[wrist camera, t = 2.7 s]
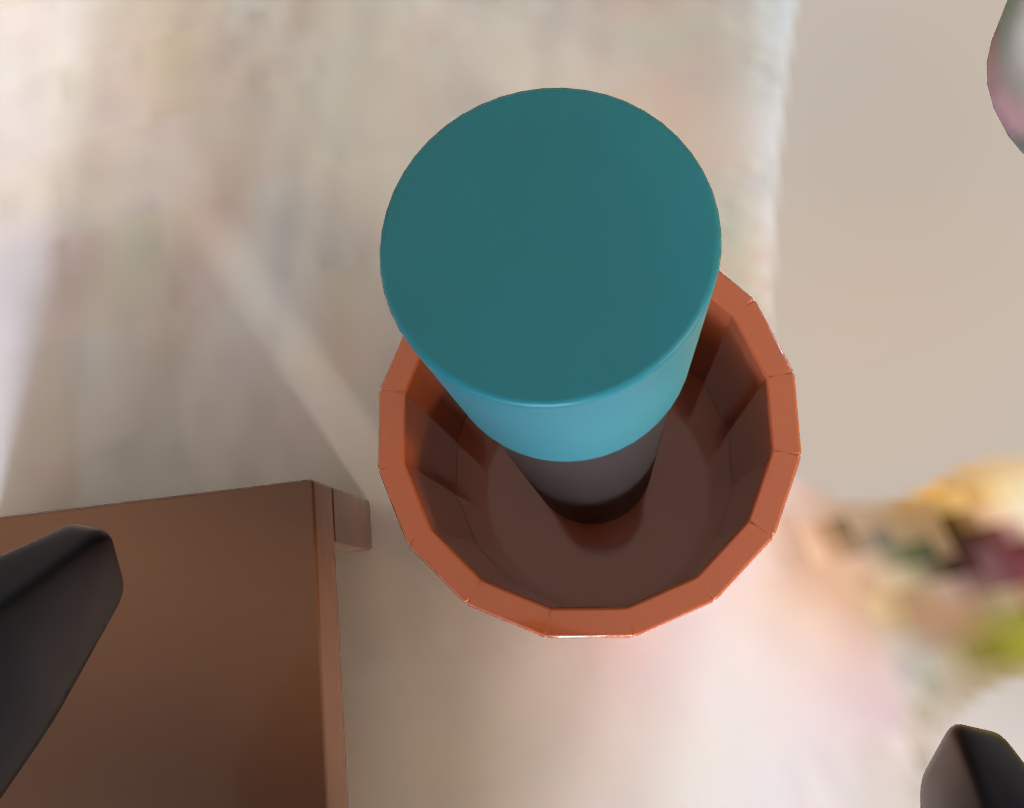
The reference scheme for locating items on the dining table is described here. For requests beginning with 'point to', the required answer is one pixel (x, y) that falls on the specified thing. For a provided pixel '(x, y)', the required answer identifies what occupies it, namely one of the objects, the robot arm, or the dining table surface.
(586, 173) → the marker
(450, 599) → the dining table surface
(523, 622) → the pen cup
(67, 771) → the shelf
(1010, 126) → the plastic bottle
